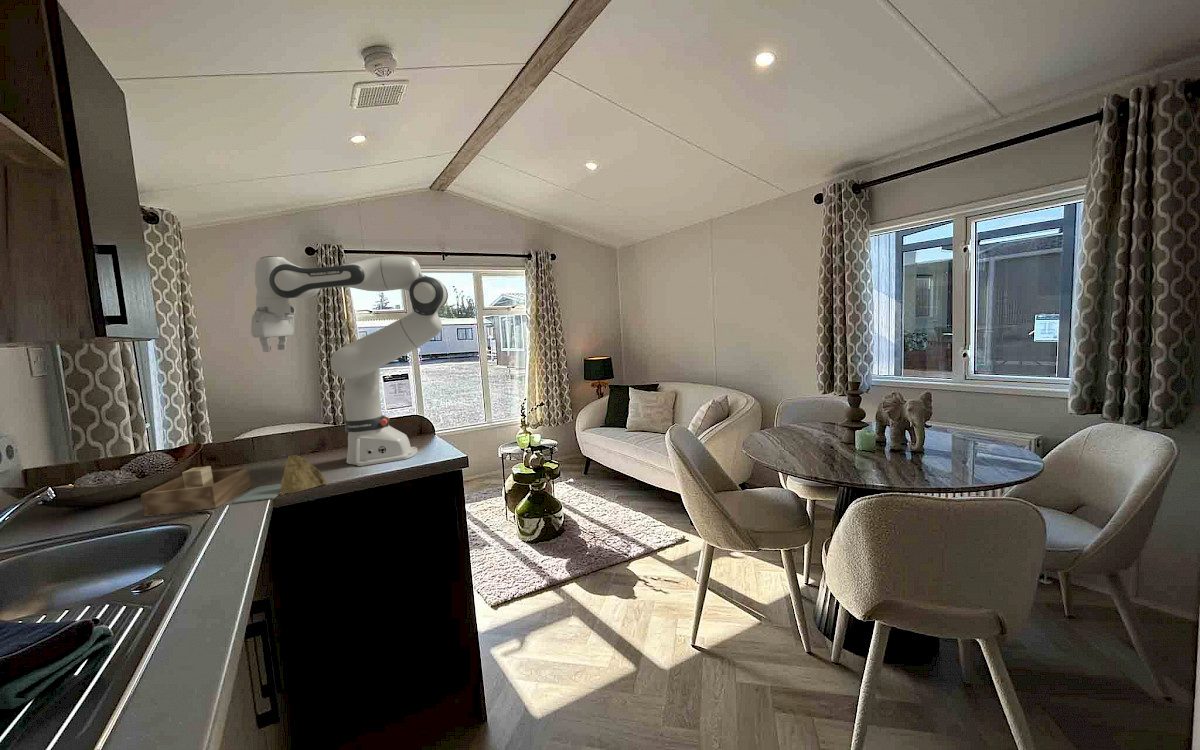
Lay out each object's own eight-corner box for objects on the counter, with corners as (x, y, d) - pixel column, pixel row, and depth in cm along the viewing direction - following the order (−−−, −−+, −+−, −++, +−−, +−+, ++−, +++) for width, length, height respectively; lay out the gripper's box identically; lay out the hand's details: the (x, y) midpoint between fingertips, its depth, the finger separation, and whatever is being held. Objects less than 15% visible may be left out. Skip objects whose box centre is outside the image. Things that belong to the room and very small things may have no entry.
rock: (334, 472, 148) (299, 470, 148) (325, 454, 143) (289, 452, 142) (318, 504, 141) (282, 502, 140) (308, 486, 135) (270, 485, 134)
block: (214, 490, 140) (210, 465, 140) (204, 495, 136) (200, 470, 135) (197, 492, 140) (192, 467, 139) (186, 497, 135) (182, 472, 135)
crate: (251, 486, 148) (248, 467, 147) (215, 508, 131) (212, 486, 130) (189, 494, 146) (186, 474, 145) (144, 516, 128) (140, 494, 128)
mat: (294, 484, 147) (294, 482, 147) (272, 499, 135) (272, 497, 135) (257, 488, 146) (257, 486, 146) (232, 503, 133) (231, 502, 133)
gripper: (266, 307, 151) (268, 353, 152) (297, 308, 171) (299, 349, 172) (243, 306, 150) (245, 352, 151) (277, 307, 170) (279, 348, 172)
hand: (274, 350), depth 162 cm, fingers open, 8 cm apart
